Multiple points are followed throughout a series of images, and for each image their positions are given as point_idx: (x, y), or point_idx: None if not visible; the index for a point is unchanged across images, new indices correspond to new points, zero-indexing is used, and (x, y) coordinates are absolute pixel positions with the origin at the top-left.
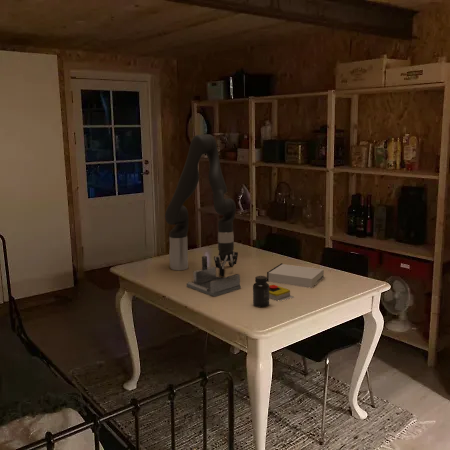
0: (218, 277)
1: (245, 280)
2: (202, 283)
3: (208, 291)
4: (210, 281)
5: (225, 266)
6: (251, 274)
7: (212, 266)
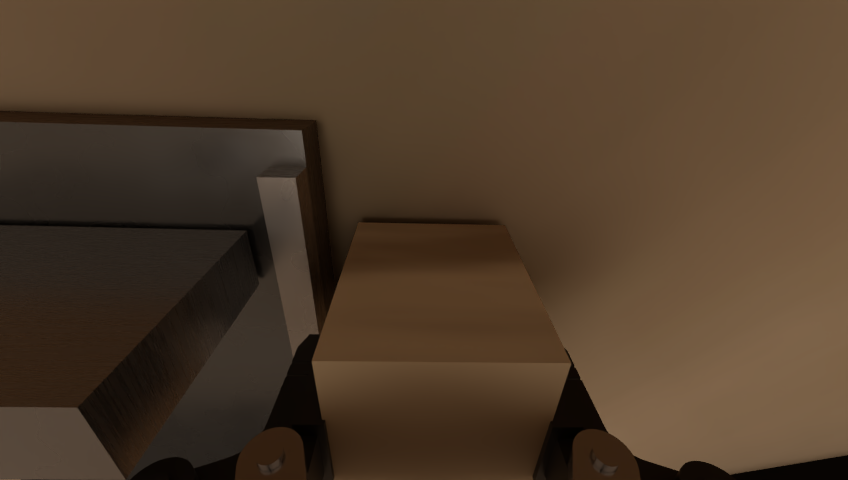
0: (286, 313)
1: None
2: None
3: None
4: None
5: (482, 405)
6: (785, 325)
7: (46, 418)
